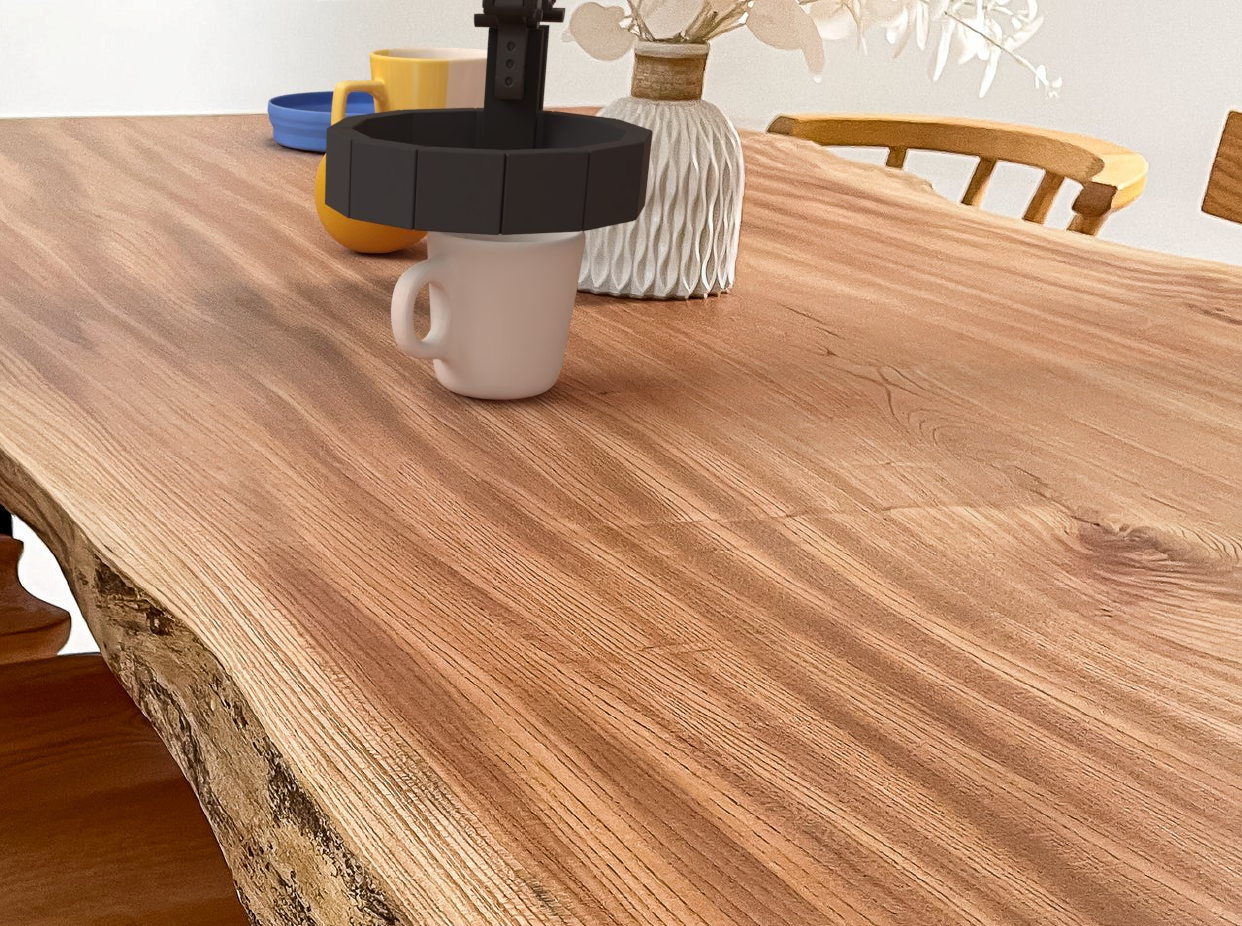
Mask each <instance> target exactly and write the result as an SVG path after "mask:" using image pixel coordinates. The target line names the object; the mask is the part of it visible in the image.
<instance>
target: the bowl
mask: <svg viewBox="0 0 1242 926" xmlns="http://www.w3.org/2000/svg"><path fill="white" fill-rule="evenodd" d="M333 93H334V90H327V91H326V90H325V91H307V92H297V93H296V92H295V93H289V94H282V95H278V96H274V97H272V98H270V99H269V100H268V102H267V114H268V121H269V122H270V124H271V126H272V139H273V140H274V142H275V143H276V144H278V145H280V146H284V147H287V148H291V149H296V150H304V151H310V152H320V153H326V135H327V128H328V127H330V126H331V114H332V101H333ZM372 113H375V106H374V98H373V96H372V95H370V94H369V93H367V92H364V91H354V92H350V93H349V94H348V97H347V102H346V110H345V118H346V117H349V116H357V115H364V114H372Z"/></svg>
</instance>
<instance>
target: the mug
mask: <svg viewBox="0 0 1242 926" xmlns="http://www.w3.org/2000/svg"><path fill="white" fill-rule="evenodd" d="M368 57H369V66H370V67H369V68H370V79H371V80H365V79H363V80H362V79H361V80H360V79H359V80H358V79H357V80H342V81H339V82H338V83H336V84H335V86H334V89H333V91H334V93H333V101H332V114H331V126H332V125H333V124H335V123H337V122H339V121H340V120H342V119H344V118H345V110H346V102H347V97H348V94H349V93H350V92H354V91H364V92H367V93H369V94H370V95H372V96H373V98H374V106H375V113H379V112H387V111H394V110H408V109H442V108H475V109H476V108H484V96H485V80H486V64H487V49H484V48H483V49H482V48H469V47H448V46H447V47H445V46H444V47H443V46H408V47H407V46H406V47H405V46H404V47H391V48H386V49H385V48H382V49H377V50H373V51H371V52H369V56H368Z"/></svg>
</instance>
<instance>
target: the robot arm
mask: <svg viewBox="0 0 1242 926" xmlns="http://www.w3.org/2000/svg"><path fill="white" fill-rule="evenodd" d="M556 3H557V0H482V2H481V8H482V13H480V12H479V13H473V25H474V28H488V32H487V33H488V34H487V49H486V50H487V64H486V80H485V96H484V111H483V127H482V143H481V149H491V150H523V149H535V144H536V131H537V118H538V110H544V105H545V104H544V102H545V91H546V90H545V89H546V77H547V64H548V51H549V39H550V28H551V27H550V24H541V23H557V24H558V23H561V24H563V23H564V21H565V17H566V7H554V6H555V4H556Z"/></svg>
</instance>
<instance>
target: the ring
mask: <svg viewBox="0 0 1242 926" xmlns="http://www.w3.org/2000/svg"><path fill="white" fill-rule="evenodd" d="M483 111H484V108H476V109H475V108H442V109H408V110H394V111H387V112H379V113H372V114H364V115H357V116H349V117H346V118H344V119H342V120H340V121H339V122H337V123H335V124H333V125H332V126H330V127H328V128H327V135H326V152H325V154H326V176H325V204H326V205H327V206H329V207H330V208H332V209H334V210H335V211H337V212H339V213H340V214H342V215H344V216H345V217H347V218H351V219H354V220H359V221H365V222H370V223H376V224H381V225H387V226H392V227H398V228H403V229H409V230H414V229H415V230H416V231H433V232H450V233H468V234H486V235H499V234H502V235H517V234H540V233H563V232H580V231H584V232H587V231H592V230H597V229H602V228H607V227H612V226H616V225H621V224H627V223H632V222H635V221H637V219H638V218H639V216H640V214H641V213H642V212H643V210H644V208H645V206H646V199H647V191H648V190H647V189H648V182H649V181H648V180H649V171H650V163H651V153H652V151H651V150H652V143H653V130H652V129H649V128H647V127H643V126H640V125H637V124H634V123H631V122H628V121H625V120H622V119H619V118H614V117H606V116H597V115H589V114H581V113H575V112H567V111H558V110H544V109H543V110H538V118H537V131H536V144H535V149H523V150H491V149H481V143H482V127H483Z"/></svg>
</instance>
